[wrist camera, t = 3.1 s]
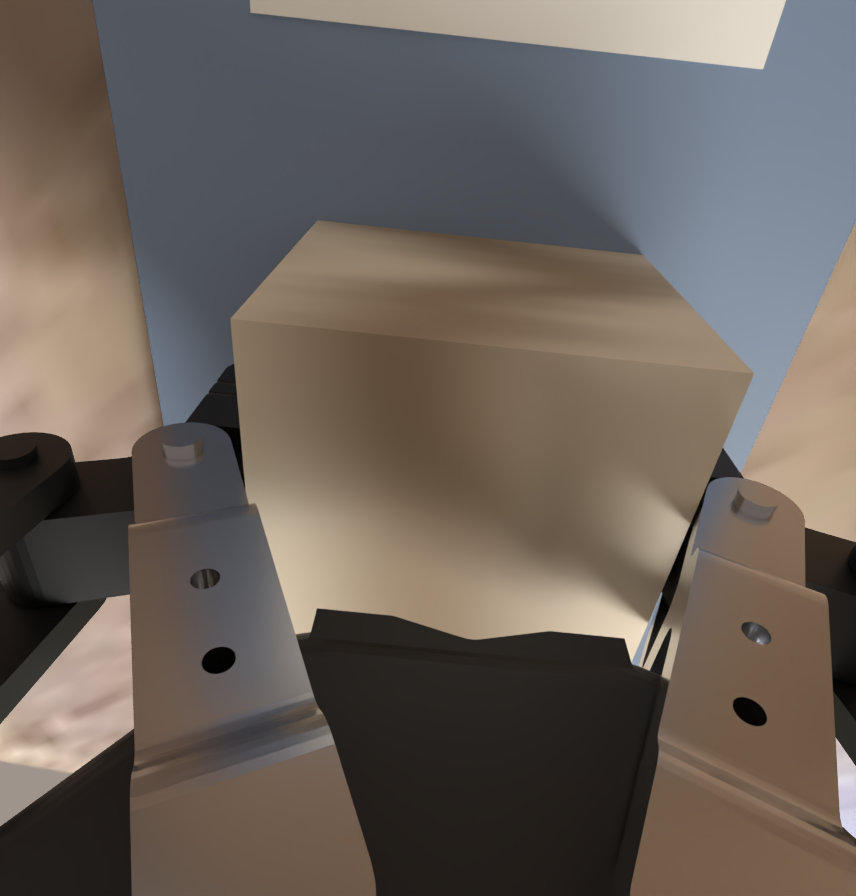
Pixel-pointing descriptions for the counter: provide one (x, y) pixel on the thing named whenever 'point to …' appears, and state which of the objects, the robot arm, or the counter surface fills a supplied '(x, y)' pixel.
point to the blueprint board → (487, 150)
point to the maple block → (477, 429)
